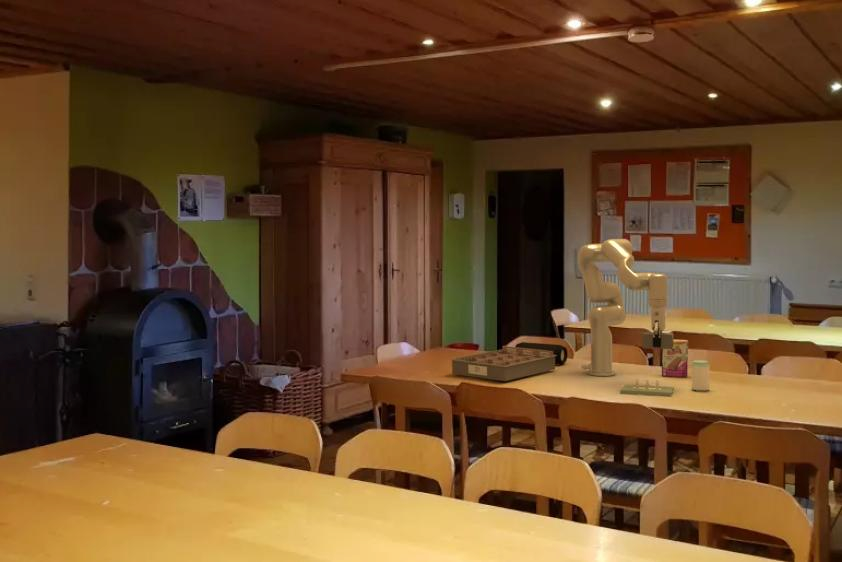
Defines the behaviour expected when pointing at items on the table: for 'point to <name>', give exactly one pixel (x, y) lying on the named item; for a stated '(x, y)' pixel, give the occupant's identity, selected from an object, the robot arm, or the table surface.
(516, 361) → the organizer tray
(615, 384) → the table surface
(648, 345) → the plug housing
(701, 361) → the can
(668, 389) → the pin board
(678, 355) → the candy bar box
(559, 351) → the portable speaker
